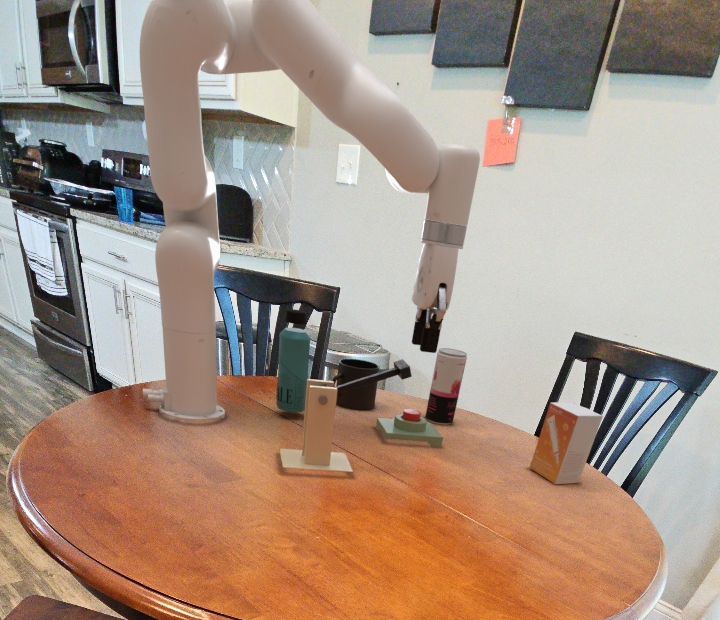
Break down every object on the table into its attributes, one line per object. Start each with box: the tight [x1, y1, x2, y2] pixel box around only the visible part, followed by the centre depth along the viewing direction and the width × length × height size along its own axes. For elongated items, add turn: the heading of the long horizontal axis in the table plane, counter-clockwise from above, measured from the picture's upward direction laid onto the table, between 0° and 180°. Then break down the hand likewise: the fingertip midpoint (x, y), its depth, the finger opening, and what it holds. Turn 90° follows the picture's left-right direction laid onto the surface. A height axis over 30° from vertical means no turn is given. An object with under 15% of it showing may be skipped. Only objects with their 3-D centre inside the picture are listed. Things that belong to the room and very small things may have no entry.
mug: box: [331, 358, 381, 411], centre depth 135 cm, size 9×12×9 cm
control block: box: [375, 413, 444, 449], centre depth 123 cm, size 12×10×4 cm
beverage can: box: [424, 347, 468, 426], centre depth 133 cm, size 7×6×15 cm
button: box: [402, 408, 422, 422], centre depth 121 cm, size 4×4×2 cm
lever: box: [321, 358, 412, 394], centre depth 96 cm, size 16×5×2 cm, turn 100°
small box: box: [529, 401, 604, 485], centre depth 112 cm, size 8×6×13 cm
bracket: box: [279, 378, 354, 473], centre depth 99 cm, size 12×9×14 cm
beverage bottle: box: [275, 308, 312, 413], centre depth 120 cm, size 6×7×20 cm
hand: (423, 347), depth 113 cm, fingers open, 5 cm apart
